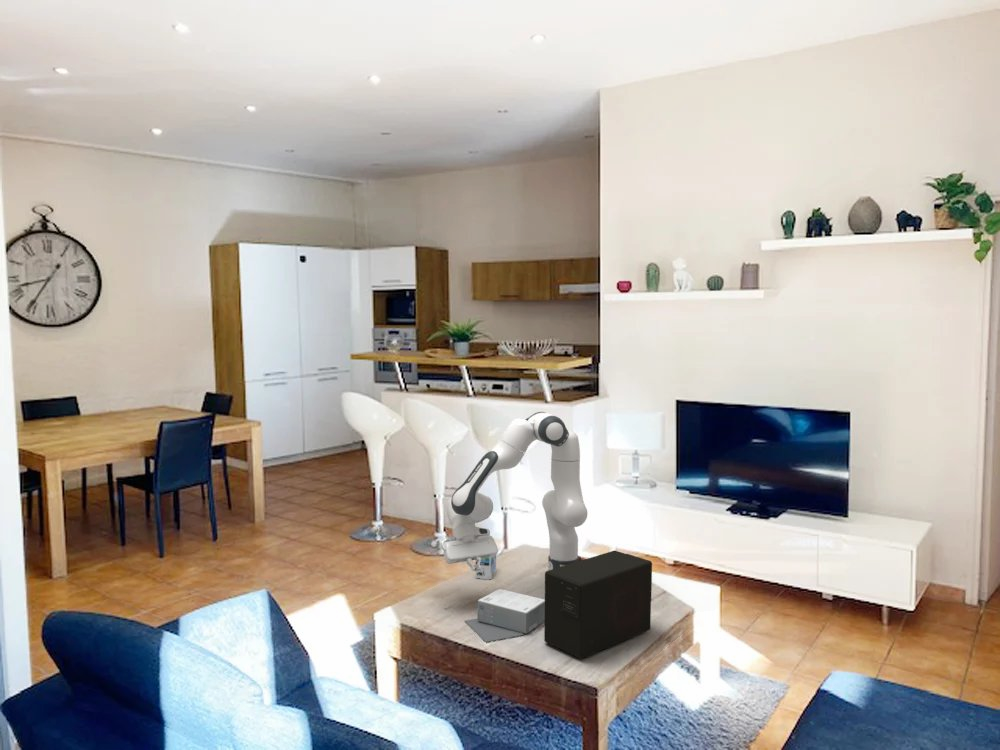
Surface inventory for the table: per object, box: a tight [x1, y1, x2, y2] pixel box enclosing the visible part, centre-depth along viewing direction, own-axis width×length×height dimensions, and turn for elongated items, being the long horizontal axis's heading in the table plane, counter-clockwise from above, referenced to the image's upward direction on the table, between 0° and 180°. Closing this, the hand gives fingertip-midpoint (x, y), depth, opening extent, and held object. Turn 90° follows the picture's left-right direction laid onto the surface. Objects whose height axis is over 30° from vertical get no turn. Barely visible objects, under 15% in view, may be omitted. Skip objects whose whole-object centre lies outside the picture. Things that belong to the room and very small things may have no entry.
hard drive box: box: [476, 588, 545, 635], centre depth 273 cm, size 16×8×20 cm
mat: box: [464, 618, 525, 643], centre depth 267 cm, size 14×19×1 cm
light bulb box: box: [475, 555, 497, 580], centre depth 320 cm, size 11×7×11 cm, turn 168°
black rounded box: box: [543, 550, 653, 660], centre depth 260 cm, size 38×20×25 cm, turn 131°
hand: (476, 570), depth 280 cm, fingers closed
